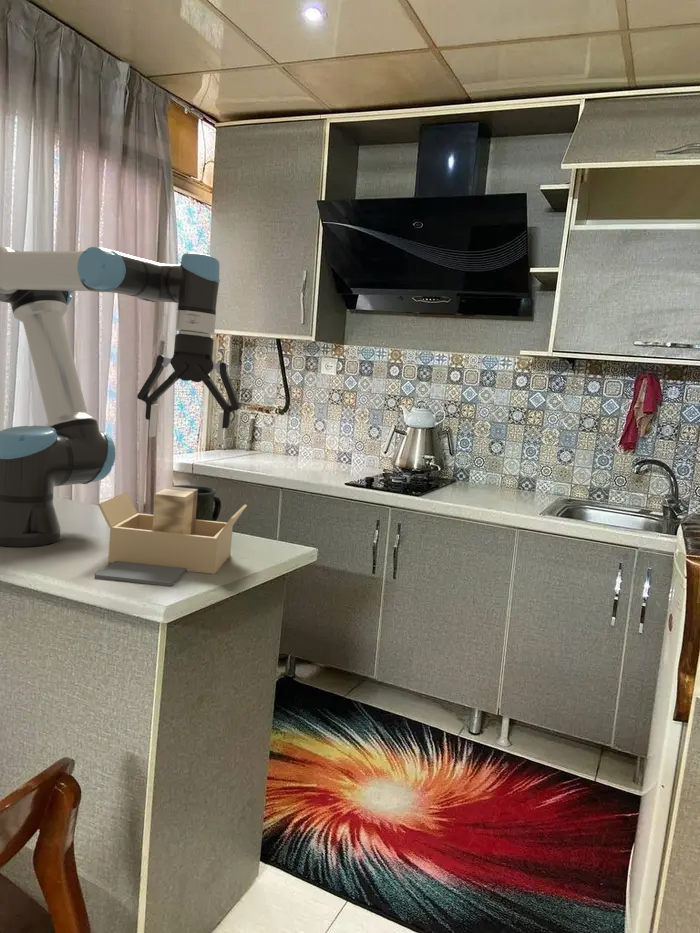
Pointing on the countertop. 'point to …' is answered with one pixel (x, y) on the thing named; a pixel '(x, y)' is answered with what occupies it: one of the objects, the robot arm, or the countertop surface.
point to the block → (175, 510)
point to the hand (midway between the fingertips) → (185, 440)
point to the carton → (165, 539)
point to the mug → (205, 503)
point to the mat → (141, 573)
